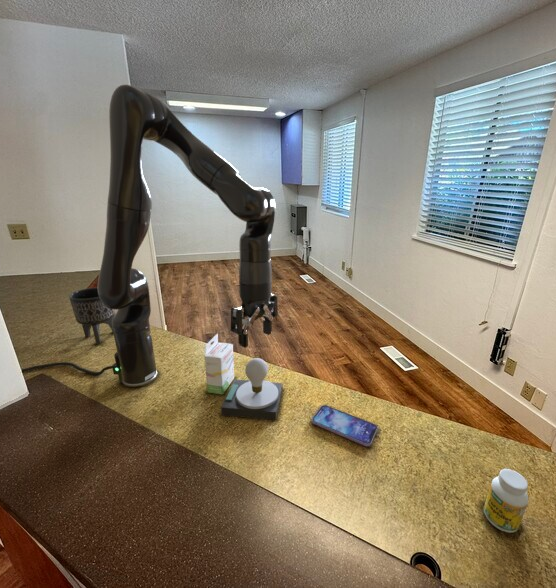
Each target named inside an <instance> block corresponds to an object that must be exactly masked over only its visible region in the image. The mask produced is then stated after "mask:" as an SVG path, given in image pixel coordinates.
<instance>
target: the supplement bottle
mask: <svg viewBox="0 0 556 588" xmlns="http://www.w3.org/2000/svg"><path fill="white" fill-rule="evenodd" d="M528 487H529V484H528V480H527V479H526V478H525V477H524V476H523V475H522V474H520V473H519V472H517V471H516V470H513V469H510V468H502V469H501V470H500V471H499V474H498V476H495V477H494V478H493V479H492V480H491V484H490V487H489V490H488V493H487V496H486V499H485V503H484V506H483V513H484V516H485V517H486V519H487V520H488V521H489V523H490V524H491V525H492V526H493V527H495V528H496V529H498V530H500V531H502V532H505V533H516V532H517V531H518V530H519V528H520V525H521V523H522V520H523V517H524V514H525V512H526V509H527V506H528V504H529V495H528V492H527V491H528Z"/></svg>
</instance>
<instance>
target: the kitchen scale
mask: <svg viewBox="0 0 556 588" xmlns="http://www.w3.org/2000/svg"><path fill="white" fill-rule="evenodd" d="M282 393H283V383H282V382H274V381H273V382H272V381H269V380H265V379H264V380H263V384H262V391H261V392H259V393H255V392H253V391H252V384H251V381H250V380H249V379H248V380H247V379H237V378H234V379H233V381H232V383H231V386H230V388H229V390H228V392H227V394H226V396H225V399H224V401H223V403H222V405H221V407H220V409H221V410H220V411H221V416H229V417H237V418H238V417H239V418H251V419H262V420H271V421H272V420H273V421H276V420H277V416H278V413H279V407H280V403H281V398H282Z"/></svg>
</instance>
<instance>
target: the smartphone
mask: <svg viewBox="0 0 556 588" xmlns="http://www.w3.org/2000/svg"><path fill="white" fill-rule="evenodd" d="M311 423H312V424H313V425H314V426H317V427H320V428H321V429H324V430H327V431H329V432H331V433H333V434H336V435H338V436H341V437H343V438H346V439H348V440H350V441H351V442H355V443H357V444H359V445H362V446H365V447H370V446H371V445H372V444H373V442H374V439H375V437H376V434H377V432H378V426H377V425H376V424H375V423H373V422H370V421H367V420H365V419H362V418H360V417H357V416H355V415H353V414H350V413H347V412H344V411H342V410H339V409H336V408H334V407H332V406H329V405H326V404H322V405H321V406H320V407H319V409H318V410H317V411H316V412H315V414H314V415H313V416H312V418H311Z"/></svg>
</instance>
